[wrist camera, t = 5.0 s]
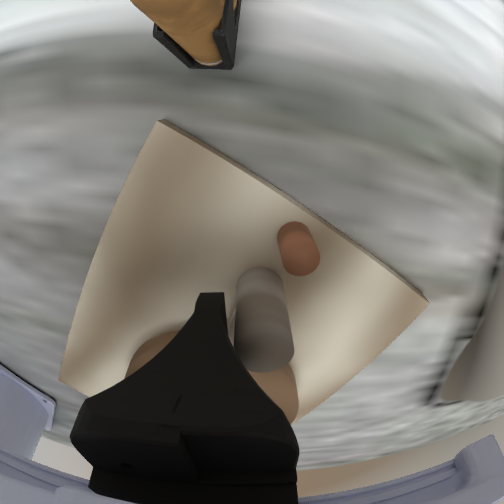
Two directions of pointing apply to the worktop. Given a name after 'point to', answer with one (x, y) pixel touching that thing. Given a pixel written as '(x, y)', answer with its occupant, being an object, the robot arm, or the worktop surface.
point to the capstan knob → (253, 338)
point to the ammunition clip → (196, 29)
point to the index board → (227, 270)
